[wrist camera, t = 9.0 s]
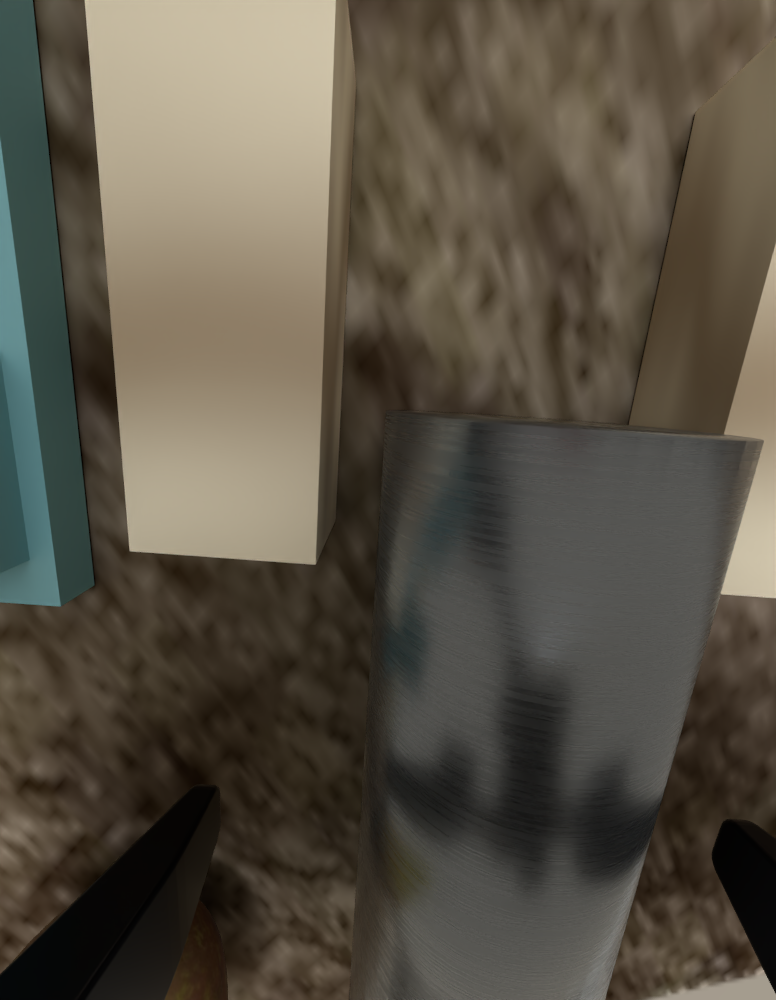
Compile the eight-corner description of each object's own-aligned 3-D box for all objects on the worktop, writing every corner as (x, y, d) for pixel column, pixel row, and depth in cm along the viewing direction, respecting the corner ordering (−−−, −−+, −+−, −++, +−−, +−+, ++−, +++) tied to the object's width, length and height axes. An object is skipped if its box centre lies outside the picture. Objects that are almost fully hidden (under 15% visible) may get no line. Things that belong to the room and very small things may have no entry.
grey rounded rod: (360, 406, 8) (463, 426, 3) (579, 420, 9) (882, 449, 5) (335, 920, 11) (369, 1292, 7) (498, 881, 13) (624, 1173, 8)
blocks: (183, 66, 7) (76, -107, 5) (862, 126, 7) (1101, -11, 5) (199, 510, 9) (129, 551, 7) (736, 549, 9) (860, 604, 7)
